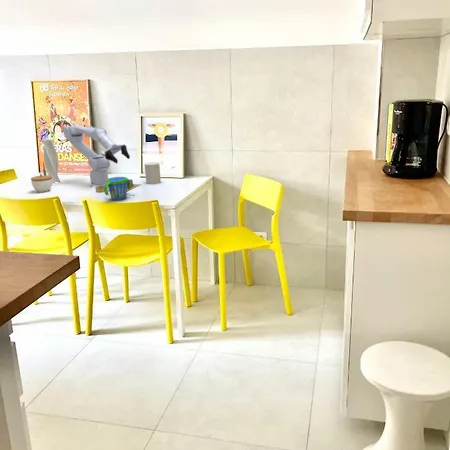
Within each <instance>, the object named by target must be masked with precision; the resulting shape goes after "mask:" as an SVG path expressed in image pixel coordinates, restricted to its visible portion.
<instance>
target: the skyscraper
mask: <svg viewBox="0 0 450 450" xmlns="http://www.w3.org/2000/svg"><path fill="white" fill-rule="evenodd" d="M50 136H52V134H49V135H46V137H45V138H42V140H41V141H42V143H43V159H44V161H42V172H43V175H49V176H52V183H55V182H60V183H61V180H60V178H59V174H58V173H59V172H58V171H59V159H58V154H57V150H56V147H55V137H56V136H55V134H53V138H51V137H50ZM55 184H56V183H55Z"/></svg>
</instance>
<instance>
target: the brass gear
mask: <svg viewBox="0 0 450 450" xmlns="http://www.w3.org/2000/svg"><path fill="white" fill-rule="evenodd" d="M104 189H105V185H98V186H95V193H105V192H104Z"/></svg>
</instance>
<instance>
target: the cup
mask: <svg viewBox="0 0 450 450" xmlns="http://www.w3.org/2000/svg"><path fill="white" fill-rule="evenodd" d="M160 166H161V165H160V162H157V161H155V162H154V161H153V162H151V161H150V162H146V163H144V172H145V183H146V185H156V184H160V183H161V182H162V180H161V167H160Z"/></svg>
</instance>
